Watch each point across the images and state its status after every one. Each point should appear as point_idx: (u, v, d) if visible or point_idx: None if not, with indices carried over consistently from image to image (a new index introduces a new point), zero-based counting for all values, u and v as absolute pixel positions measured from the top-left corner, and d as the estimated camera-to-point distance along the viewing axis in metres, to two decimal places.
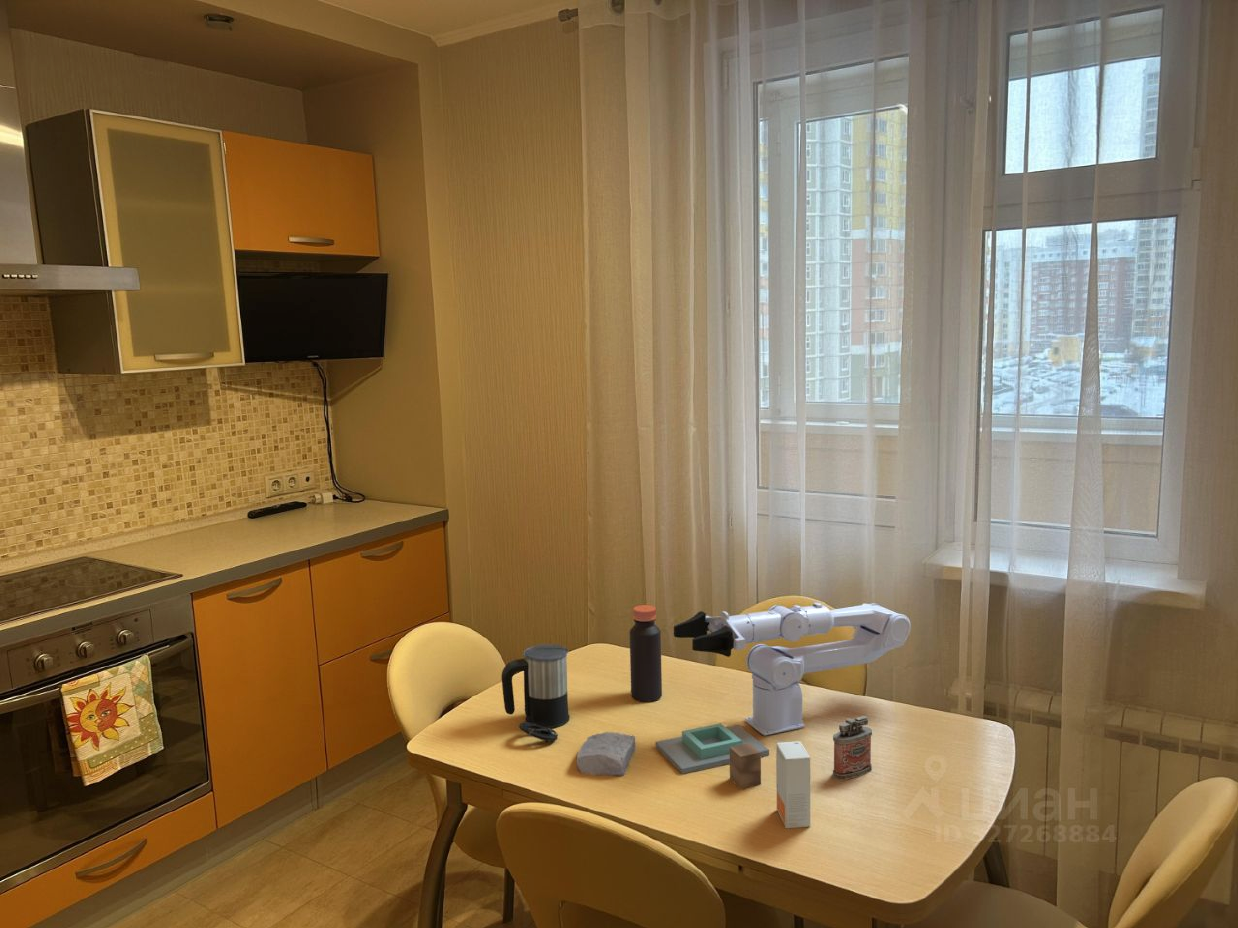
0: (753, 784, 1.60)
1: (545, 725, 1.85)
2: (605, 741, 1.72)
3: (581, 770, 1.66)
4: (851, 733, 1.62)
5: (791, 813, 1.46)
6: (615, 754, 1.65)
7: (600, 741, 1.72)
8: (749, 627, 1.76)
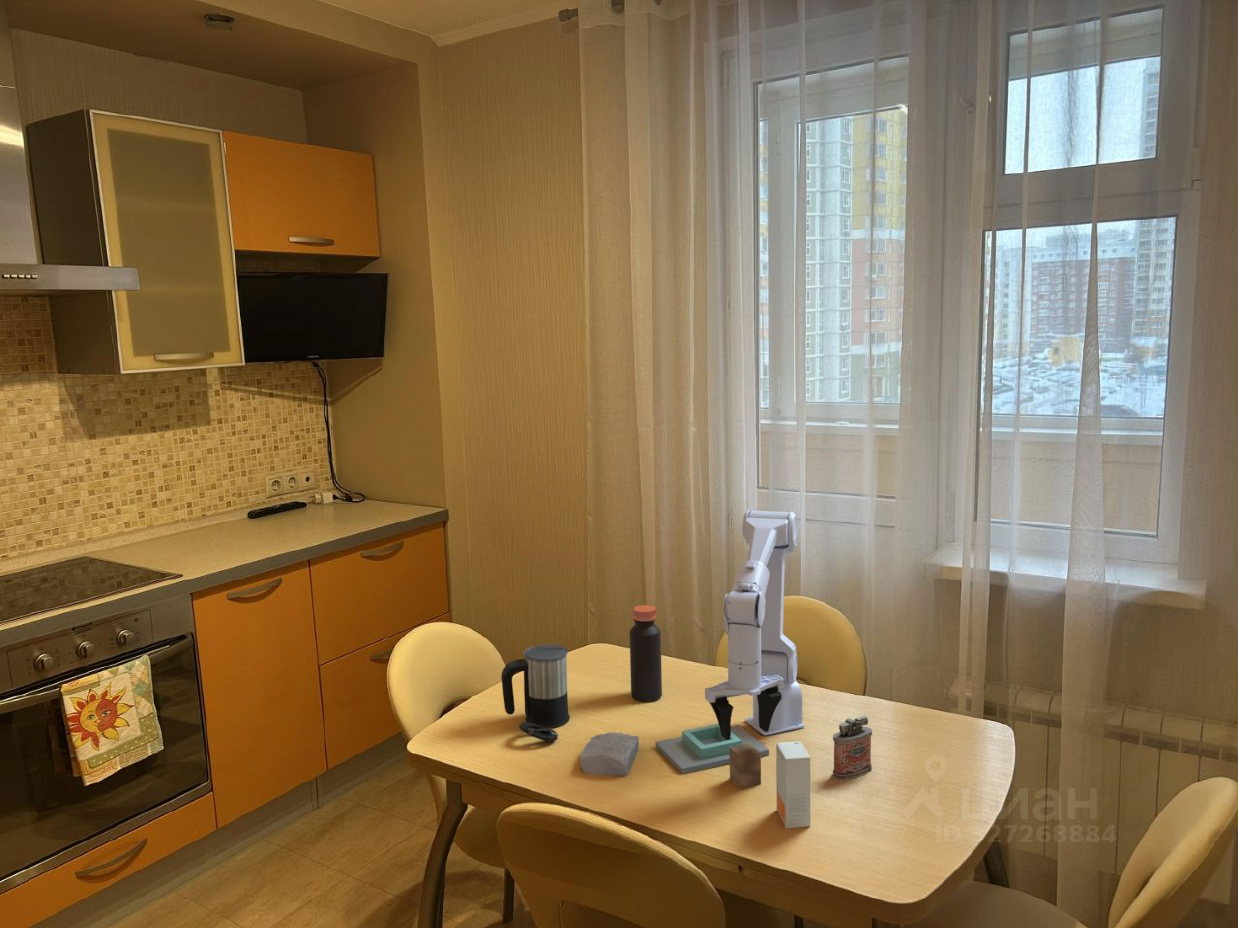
0: (753, 784, 1.60)
1: (545, 725, 1.85)
2: (609, 741, 1.72)
3: (585, 770, 1.66)
4: (851, 733, 1.62)
5: (791, 813, 1.46)
6: (619, 754, 1.65)
7: (603, 741, 1.72)
8: (760, 663, 1.58)
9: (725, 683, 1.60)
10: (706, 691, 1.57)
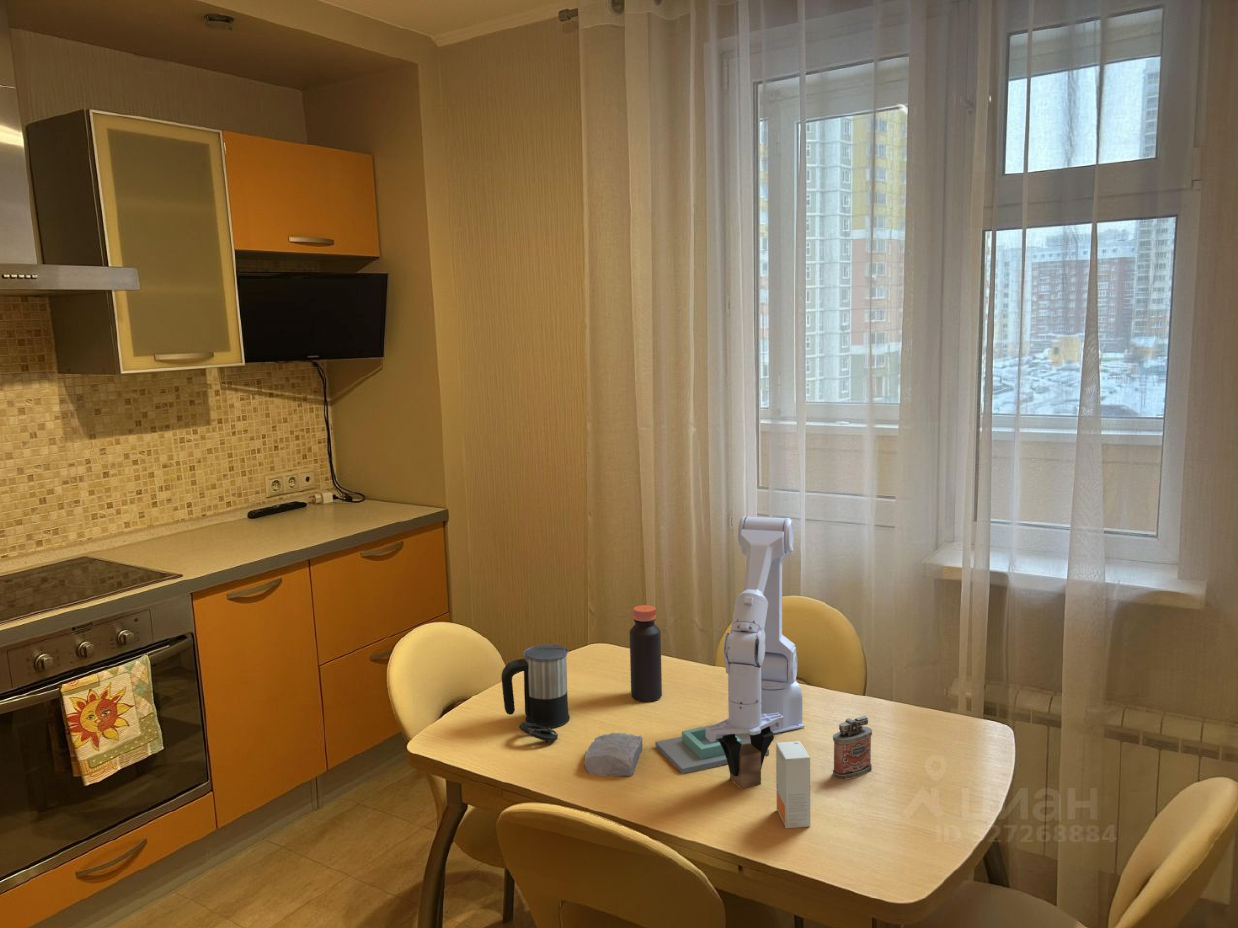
0: (753, 784, 1.60)
1: (545, 725, 1.85)
2: (613, 741, 1.72)
3: (589, 771, 1.66)
4: (851, 733, 1.62)
5: (791, 813, 1.46)
6: (623, 755, 1.65)
7: (607, 742, 1.72)
8: None
9: (725, 721, 1.61)
10: (707, 730, 1.58)
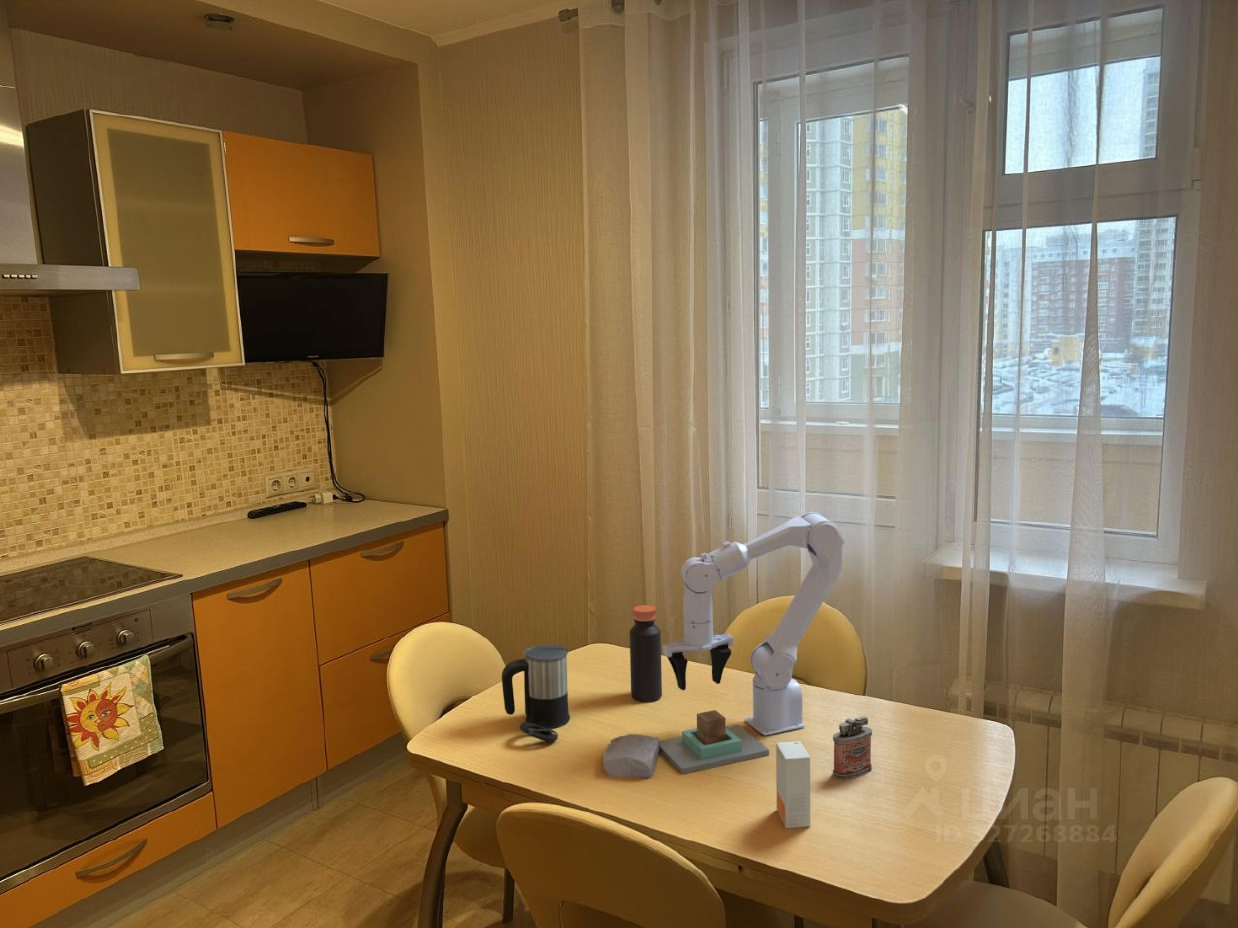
0: None
1: (545, 725, 1.85)
2: (630, 743, 1.71)
3: (608, 773, 1.65)
4: (851, 733, 1.62)
5: (791, 813, 1.46)
6: (643, 756, 1.64)
7: (625, 743, 1.71)
8: (712, 622, 1.79)
9: (681, 641, 1.81)
10: (664, 647, 1.78)
